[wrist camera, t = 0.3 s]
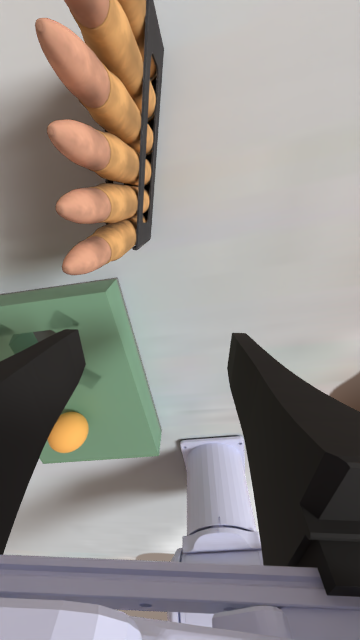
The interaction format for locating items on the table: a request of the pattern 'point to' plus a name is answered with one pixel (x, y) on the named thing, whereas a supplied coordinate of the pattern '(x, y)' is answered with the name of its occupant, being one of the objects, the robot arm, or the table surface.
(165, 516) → the table surface
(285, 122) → the table surface
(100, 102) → the ammunition clip
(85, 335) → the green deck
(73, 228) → the table surface
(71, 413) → the ball
